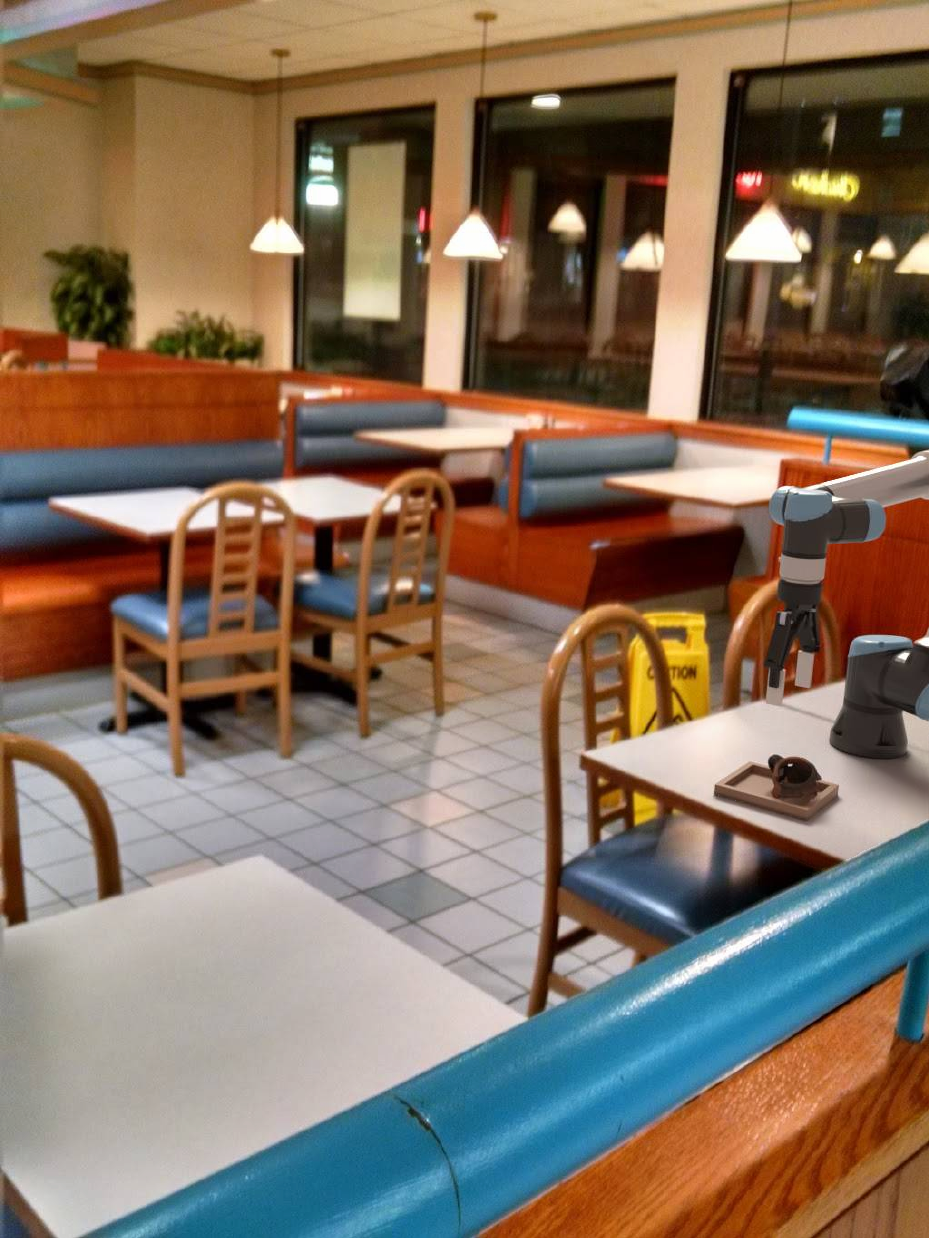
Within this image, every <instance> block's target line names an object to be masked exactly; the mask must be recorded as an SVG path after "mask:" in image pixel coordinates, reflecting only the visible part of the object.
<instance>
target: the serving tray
mask: <svg viewBox="0 0 929 1238" xmlns="http://www.w3.org/2000/svg"><path fill="white" fill-rule="evenodd" d="M772 775H773V773H772V771H771V770H770V768H769V765H766V764H761V763H757V762H755V761H750V760H749V761H748V762H746V763H745V764H743V765H741V766H740V767H738V769H735V770H733V772H731V773H729V774H728V775H727V776H725V777H724V778H722V779H721V780H719V781H717V782H716V783H714V786H713V787H714V788H713V795H714V794H715V795H714V796H717V795H719V796H718V797H721V796H722V797H721V798H723V799H724V798H725V799H727V800H730V801H731V800H732V801H735V800H736V801H735V802H738V801H739V802H738V803H741V802H743V804H745V803H746V804H745V805H748V804H749V805H748V806H752V807H756V808H760V809H763V810H767V811H769V812H773V813H776V812H777V814H781V815H784V816H787V817H791V818H794V819H798V820H801V821H805V822H807V821H809V820H810V819H811V818H812V817H813V816H815V815H816V814H817V813H818V812H819V811H820V810H822V809H823V808H824V807H826V805H828V803H830V802H831V801H833V800H834V799H835V798H837V796H838V795H839V790H840V788H839V787H840V785H839V784H836V783H833V782H829V781H826V780H823V779H822V780H819V781H816V782H817V783H818V785H819V788H818V790H819V792H817V794H815V793H814V792H811V793H810V794H808V795H806V796H804V795H802V797H801V798H781V797H780V798H779V799H775V798H774V797H773V796H772V789H773V787H774V784H773V781H772ZM784 781H785V782H787V783H788V781H787V777H786V778H785V779H784ZM780 784H781V783H780Z"/></svg>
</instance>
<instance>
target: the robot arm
mask: <svg viewBox="0 0 929 1238" xmlns="http://www.w3.org/2000/svg"><path fill="white" fill-rule="evenodd" d="M920 498H922V499H923V500H926V501H927V500H928V501H929V449H926V450H922V451H918V452H916V453H915V454H914V455H913V456H912V457H911V458H910V459H907V460H905V461H901V462H897V463H894V464H890V465H885V466H882V467H878V468H874V469H871V470H867V471H863V472H859V473H856V474H851V475H849V476H845V477H841V478H837V479H833V480H829V481H826V482H822V483H818V484H813V485H810V486H809V485H808V486H805V487H799V486H797V485H795V486H794V485H792V486H790V485H784V486H781V487H779V488H777V489H776V490H775V491H774V493H772V495H771V497H770V499H769V504H768V510H769V511H768V513H769V515H770V518H771V519H772V521H773V522H774V523H776V524H778V525H781V526H783V530H782V531H783V532H782V543H781V544H782V545H781V554H780V555H781V556H779V557H778V561H777V562H779V563H780V565H779V574H778V575H780V578H779V579H778V580H777V581H778V582H777V592H776V597H777V599H778V600H779V601H780V602H783V603H784V604H785V606H784V610H783V611H777V612H776V615H775V621H774V622H775V623H774V627H773V630H772V633H771V638H770V641H769V643H768V644H769V645H768V648H767V652H766V656H765V659H764V662H763V668H767V669H768V676H767V687H766V695H765V704H768V705H772V706H775V707H776V706H777V707H782V706H783V700H784V689H785V681H786V671H787V670H786V669H785V668H784V667H785V666H786V663H787V661H788V658H789V655H790V651H791V649H792V646H793V644H794V641H795V639H796V638H797V639H798V643H799V646H800V649H801V650H798V651H797V661H796V670H795V681H794V686H796V687H801V688H805V689H806V688H807V689H810V688H811V687H812V676H813V668H814V660H815V653H818V654H819V653H820V651H821V637H820V627H819V626H820V625H819V613H818V611H819V610H818V609H819V604H820V603H821V602H822V596H823V595H822V594H823V587H824V584H823V582H822V580H823V579H824V578H825V571H826V561H827V554H828V553H827V551H828V546H829V545H833V544H851V543H859V544H863V543H865V542H871V541H875V540H876V539H878V538H879V537H881V536H882V534H883V533H884V531H885V529H886V524H887V521H886V520H887V516H886V512H885V509H884V508H886V507H890V506H894V505H898V504H901V503H905V502H908V501H911V500H916V499H920ZM846 664H847V665H846V672H845V673H846V675H845V681H844V682H845V684H844V692H843V702H842V706H841V708H840V710H839V712H838V714H837V716H836V719H835V720H834V722H833V724H832V726H831V728H830V733H829V739H828V741H829V743H830V745H832V746H833V747H834V748H835V749H837V750H840V751H842V752H845V753H848V754H851V755H854V756H859V757H863V758H864V757H865V758H871V759H895V758H896V759H897V758H900V757H902V756H904V755H906V754H907V750H908V745H909V744H908V743H909V741H908V734H907V731H906V725H905V720H904V714H903V712H905V713H908V714H910V715H913V716H915V717H917V718H919V719H920V720H922V721H926V722H929V628H927V632H926V635H924V636H923V637H921V638H919V639H916V640H915V641H914V642H912V639H911V638H909V637H907V636H906V637H904V636H900V635H899V636H898V635H891V634H890V635H888V634H867V635H866V634H865V635H860V636H857V637H855V638H853V640H852V641H851V643H850V646H849V653H848V655H847V663H846Z"/></svg>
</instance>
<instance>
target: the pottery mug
mask: <svg viewBox="0 0 929 1238" xmlns="http://www.w3.org/2000/svg"><path fill="white" fill-rule="evenodd" d="M767 764H768V765H767V766H769V768H770V770H771V771H772V773H773V775H772V781H773V784H774V787H773V789H772V796H773V797H774V798H775V799H779V798H780V797H781V798H801V797H802V795H804V796H806V795H808V794H810V793H811V792H814V793H815V794H817V792H819V790H818V788H819V785H818V783H817V782H816V781H819V780H822V781H823V778H822V776H821V775H820V773H819V772H818V770H817V768H816V766H815V765H814V764H813V763H812V762H811V761H810V760H807V758H805V757H804V758H803V757H800V756H789V757H783V756H781V755H779V754H772V755H771V756H769V758H768V760H767ZM786 777H787V781H788V783H787V782H785V781H784V779H785V778H786ZM780 783H781V784H780Z"/></svg>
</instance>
